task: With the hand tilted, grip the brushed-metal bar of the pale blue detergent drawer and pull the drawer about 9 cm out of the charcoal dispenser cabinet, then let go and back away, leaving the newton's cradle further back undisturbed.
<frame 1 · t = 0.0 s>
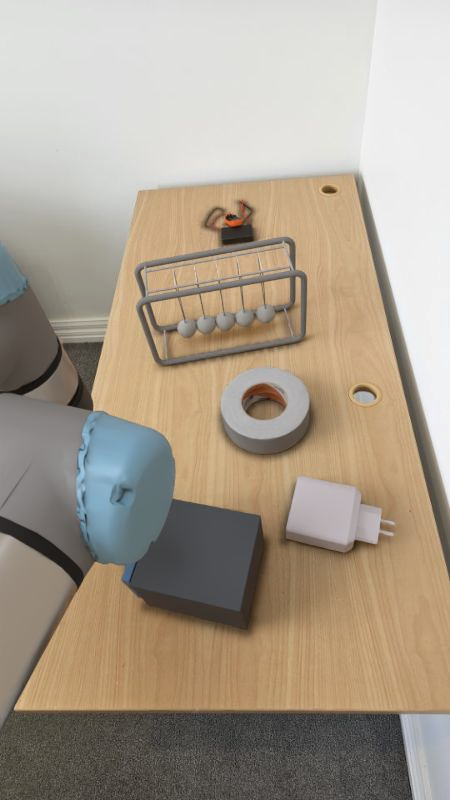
hand: (111, 493, 62), 19 cm above the table, tool pointing down, fingers open, 13 cm apart
tape roll: (266, 417, 89), on the table
charger: (340, 524, 76), on the table
newton's cradle: (227, 336, 102), on the table
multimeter: (229, 222, 124), on the table
detergent drawer: (170, 555, 71), point 5 cm above the table, slide at 0.5 cm
dispenser cabinet: (208, 573, 74), on the table
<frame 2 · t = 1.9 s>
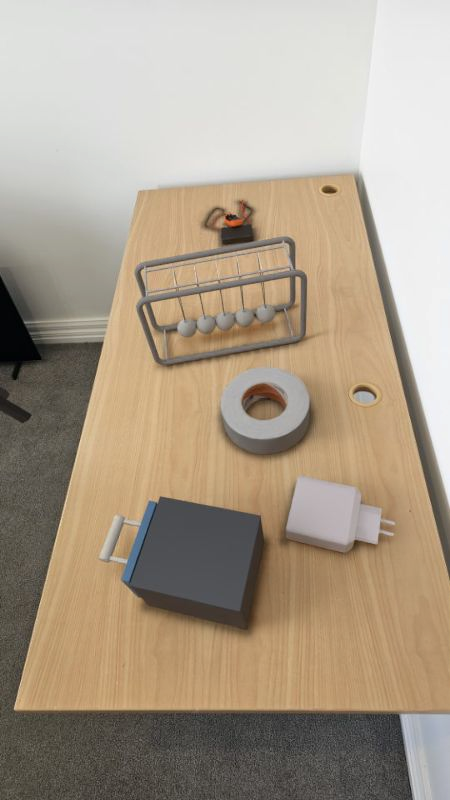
nothing on the table moved.
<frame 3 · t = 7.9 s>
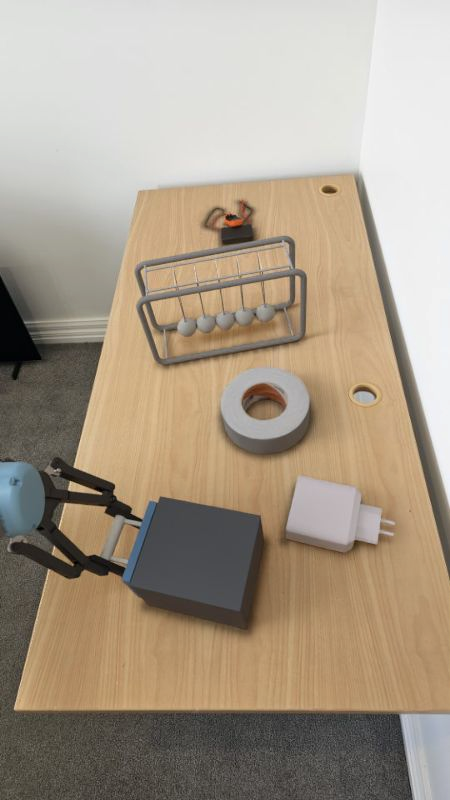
hand: (137, 550, 73), 4 cm above the table, tool tilted 45°, fingers closed on detergent drawer, 6 cm apart
detergent drawer: (171, 555, 71), point 5 cm above the table, slide at 0.4 cm, touching gripper
everything else where it was.
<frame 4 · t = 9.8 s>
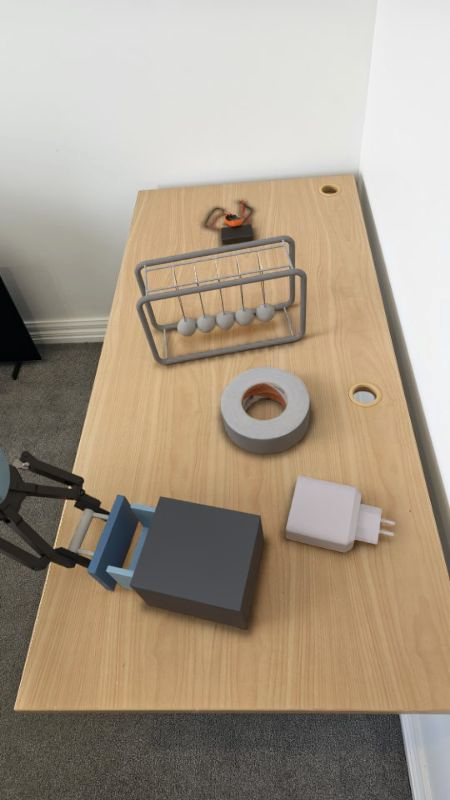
hand: (106, 543, 74), 4 cm above the table, tool tilted 45°, fingers closed on detergent drawer, 7 cm apart
detergent drawer: (138, 548, 72), point 5 cm above the table, slide at 5.5 cm, touching gripper
everything else where it was.
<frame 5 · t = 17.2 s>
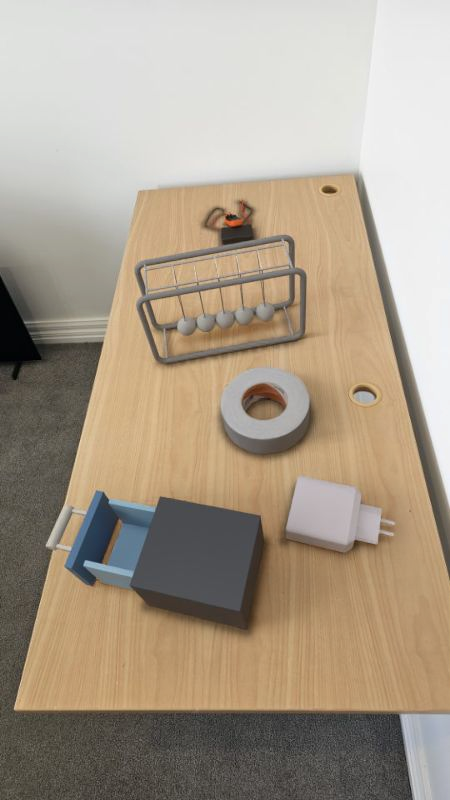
detergent drawer: (117, 543, 73), point 5 cm above the table, slide at 8.9 cm
everything else where it was.
at the end: detergent drawer slide at 8.9 cm; the gripper is holding nothing; newton's cradle moved 0.6 cm from its start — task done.
